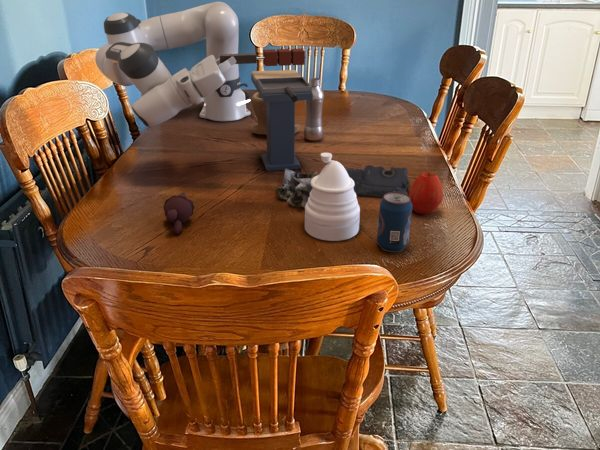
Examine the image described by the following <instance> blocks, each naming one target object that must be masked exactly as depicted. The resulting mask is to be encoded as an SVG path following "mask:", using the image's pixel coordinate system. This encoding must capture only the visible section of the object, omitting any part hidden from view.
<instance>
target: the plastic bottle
mask: <svg viewBox="0 0 600 450" xmlns="http://www.w3.org/2000/svg"><path fill="white" fill-rule="evenodd" d="M308 83H309V84H310V85H311V86H312V93H313V100H304V106H305V121H304V127H303V136H304V138H305V139H306V140H307V141H319V140H321V139H323V135H324V128H323V118H322V117H323V116H322V115H323V105H324V99H325V94H324V91H323V89H322V88H321V87H320V86H321V78H320V77H310V78H309V77H308Z"/></svg>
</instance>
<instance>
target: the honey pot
mask: <svg viewBox="0 0 600 450" xmlns="http://www.w3.org/2000/svg"><path fill="white" fill-rule="evenodd" d="M332 158H333V154H332V153H331V152H321V153H320V159H321V162H323V163H325V165H324V167H323V168H322V169H321V170H320V173H319V174H318V175H317V174H316V175H314V176H313V177H314V178H313V177H312V180H311V186H312V187H313V189H312V191H311V192H310V196H309V198H308V202H307V203H306V205H305V207H304V231H305V232H306V233H307V234H308V235H309V236H311V237H312V238H315V239H317V240H321V241H328V242H339V241H346V240H349V239H352V238H353V237H355V236H356V235H357V234H358V233H359V231H360V221H361V220H360V219H361V216H360V215H361V213H360V212H361V207H360V204H359V201H358V198H357V197H358V196H356V193H355V192H354V189H353V188H354V185H355V183H354V181H353V180H352V178H350V177H349V175H348V173H347V171H346V170H345V169H346V168H345V167H344V165H343V164H342V163H341V162H339V161H337V160H333V159H332Z"/></svg>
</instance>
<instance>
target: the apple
mask: <svg viewBox="0 0 600 450" xmlns="http://www.w3.org/2000/svg"><path fill="white" fill-rule="evenodd" d="M408 195H409V196H410V201H411V203H412V211H413V212H415V213H417V214H419V215H424V216H425V215H430V214H432V213H434V212H435V211H436V210H437V208H438V207H439V206H440V205H441V204H442V202H443V199H444V190H443V185H442V183H441V179H440V178H439V177H438V176H437V174H435V173H433V172H431V171H423V172H421V173H420V174H418V175H417V176H416V178H415V179H414V181H413V182H412V184H411V187H410V189H409V193H408Z"/></svg>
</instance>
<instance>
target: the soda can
mask: <svg viewBox="0 0 600 450" xmlns="http://www.w3.org/2000/svg"><path fill="white" fill-rule="evenodd" d="M378 211H379V212H378V222H377V233H376V241H377V244H378V246H379V248H380V249H382V250H383V251H385V252H388V253H400V252H402V251H404V250H405V249H406V247H408V245H409V240H410V239H409V238H410V232H411V222H412V216H413V208H412V203H411V201H410V196H409V194H405V193H401V192H389V193H386V194H384V196H383V197H382V199H381V201H380V202H379V210H378Z"/></svg>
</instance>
